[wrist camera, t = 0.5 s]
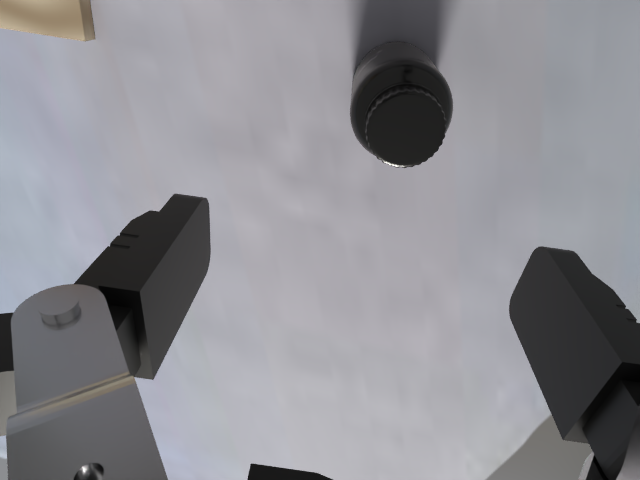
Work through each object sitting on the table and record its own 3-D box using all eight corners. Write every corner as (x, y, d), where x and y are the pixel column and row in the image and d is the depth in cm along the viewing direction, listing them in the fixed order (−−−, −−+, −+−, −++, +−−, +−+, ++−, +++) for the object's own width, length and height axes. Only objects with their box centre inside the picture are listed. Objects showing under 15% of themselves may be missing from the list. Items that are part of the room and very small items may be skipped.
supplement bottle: (351, 41, 33) (349, 69, 23) (439, 39, 33) (475, 66, 23) (351, 127, 37) (348, 182, 27) (429, 126, 37) (457, 183, 26)
